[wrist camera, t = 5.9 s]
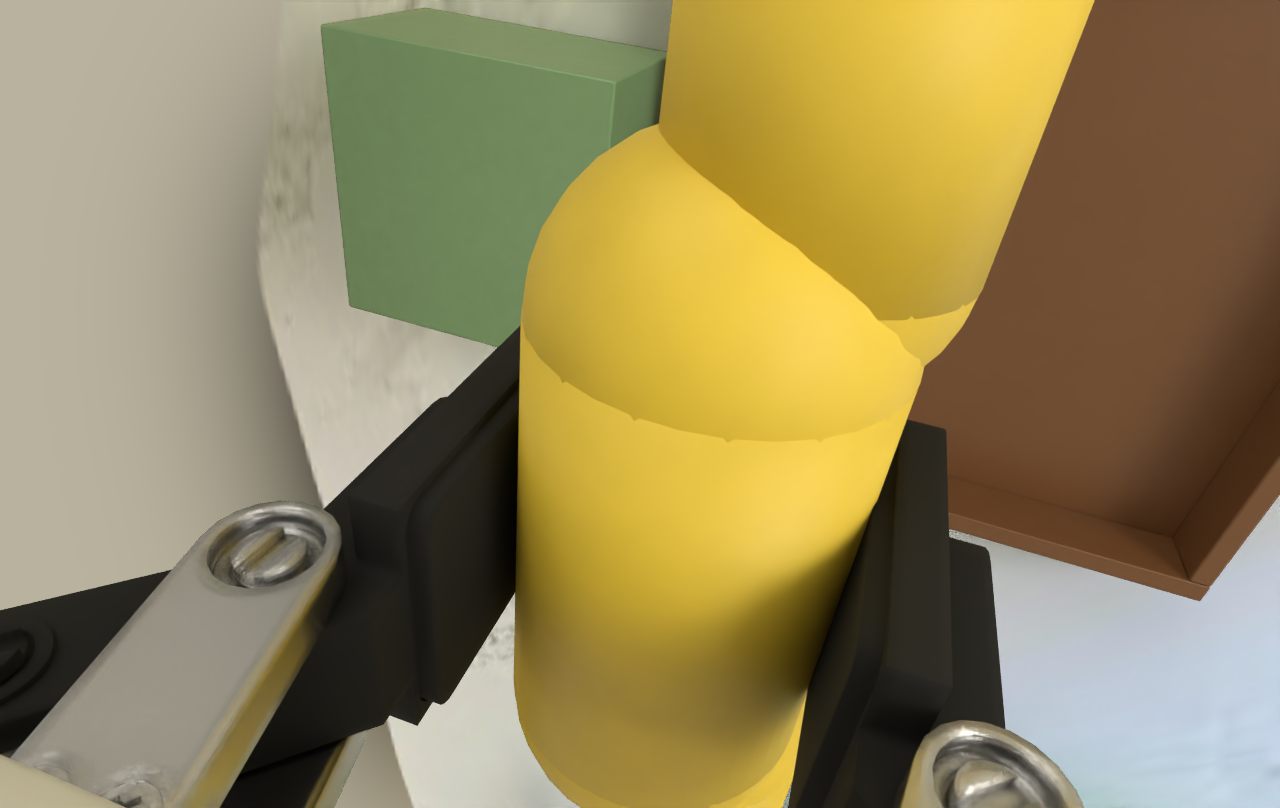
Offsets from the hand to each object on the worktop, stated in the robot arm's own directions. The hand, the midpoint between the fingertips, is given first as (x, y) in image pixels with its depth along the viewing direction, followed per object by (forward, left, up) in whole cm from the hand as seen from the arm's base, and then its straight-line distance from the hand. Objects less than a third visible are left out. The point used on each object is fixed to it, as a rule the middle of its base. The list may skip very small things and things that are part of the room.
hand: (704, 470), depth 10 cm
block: (+1, -9, -15) cm, 17 cm away
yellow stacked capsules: (0, 0, -1) cm, 1 cm away
